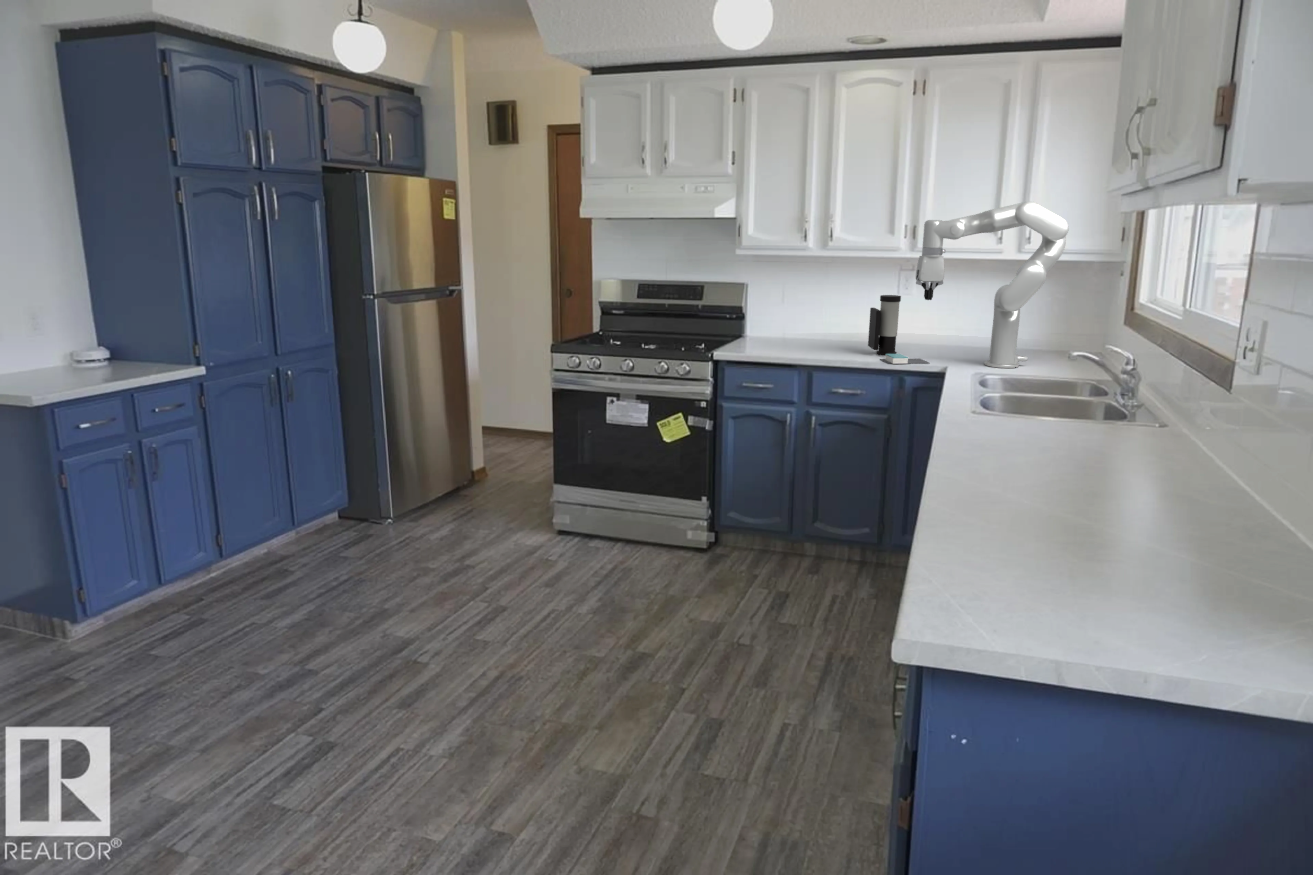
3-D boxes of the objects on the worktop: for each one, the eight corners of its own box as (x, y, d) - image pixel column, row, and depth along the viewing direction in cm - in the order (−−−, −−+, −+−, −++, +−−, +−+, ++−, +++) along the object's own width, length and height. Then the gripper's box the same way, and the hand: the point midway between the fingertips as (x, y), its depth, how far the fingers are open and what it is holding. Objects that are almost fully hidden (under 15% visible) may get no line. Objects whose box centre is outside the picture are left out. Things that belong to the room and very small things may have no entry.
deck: (899, 353, 354) (885, 353, 354) (908, 357, 346) (893, 357, 345) (899, 359, 355) (885, 359, 354) (907, 363, 346) (892, 363, 346)
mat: (919, 359, 358) (920, 358, 358) (929, 363, 349) (929, 362, 349) (879, 359, 357) (879, 359, 357) (888, 364, 347) (888, 363, 347)
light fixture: (899, 356, 365) (904, 297, 359) (873, 356, 365) (877, 297, 359) (892, 352, 377) (897, 294, 370) (867, 352, 377) (871, 294, 371)
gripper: (946, 252, 345) (942, 298, 350) (909, 252, 344) (906, 299, 348) (954, 253, 338) (950, 300, 342) (917, 252, 336) (913, 300, 341)
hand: (928, 299), depth 345 cm, fingers closed
